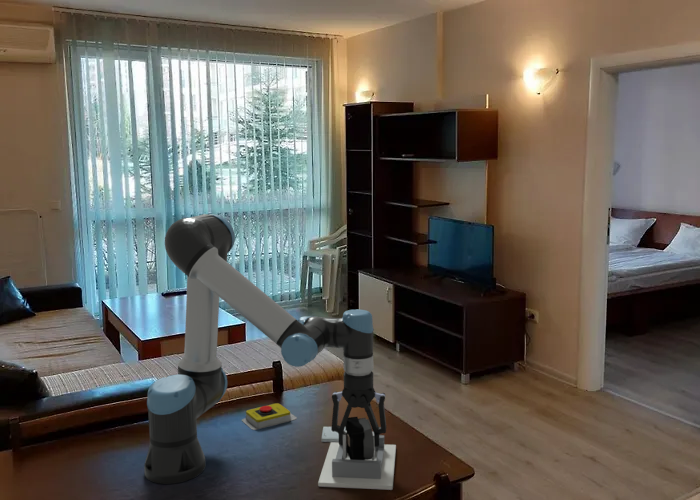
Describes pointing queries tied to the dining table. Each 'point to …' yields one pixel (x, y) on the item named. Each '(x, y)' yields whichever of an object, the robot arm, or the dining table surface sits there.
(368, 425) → the cpu cooler
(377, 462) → the housing
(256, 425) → the emergency button
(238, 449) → the dining table surface
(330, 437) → the hard drive
